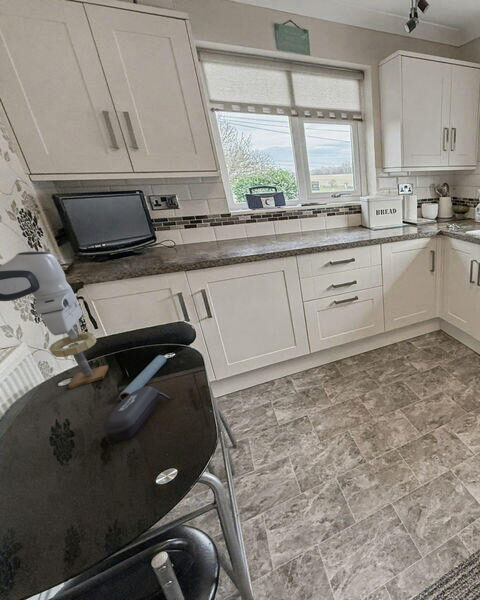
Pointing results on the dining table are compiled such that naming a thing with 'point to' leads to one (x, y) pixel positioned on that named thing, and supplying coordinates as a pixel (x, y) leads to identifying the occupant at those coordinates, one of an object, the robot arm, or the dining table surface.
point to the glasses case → (132, 413)
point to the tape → (83, 346)
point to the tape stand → (86, 371)
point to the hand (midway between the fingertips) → (75, 336)
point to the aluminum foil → (143, 376)
